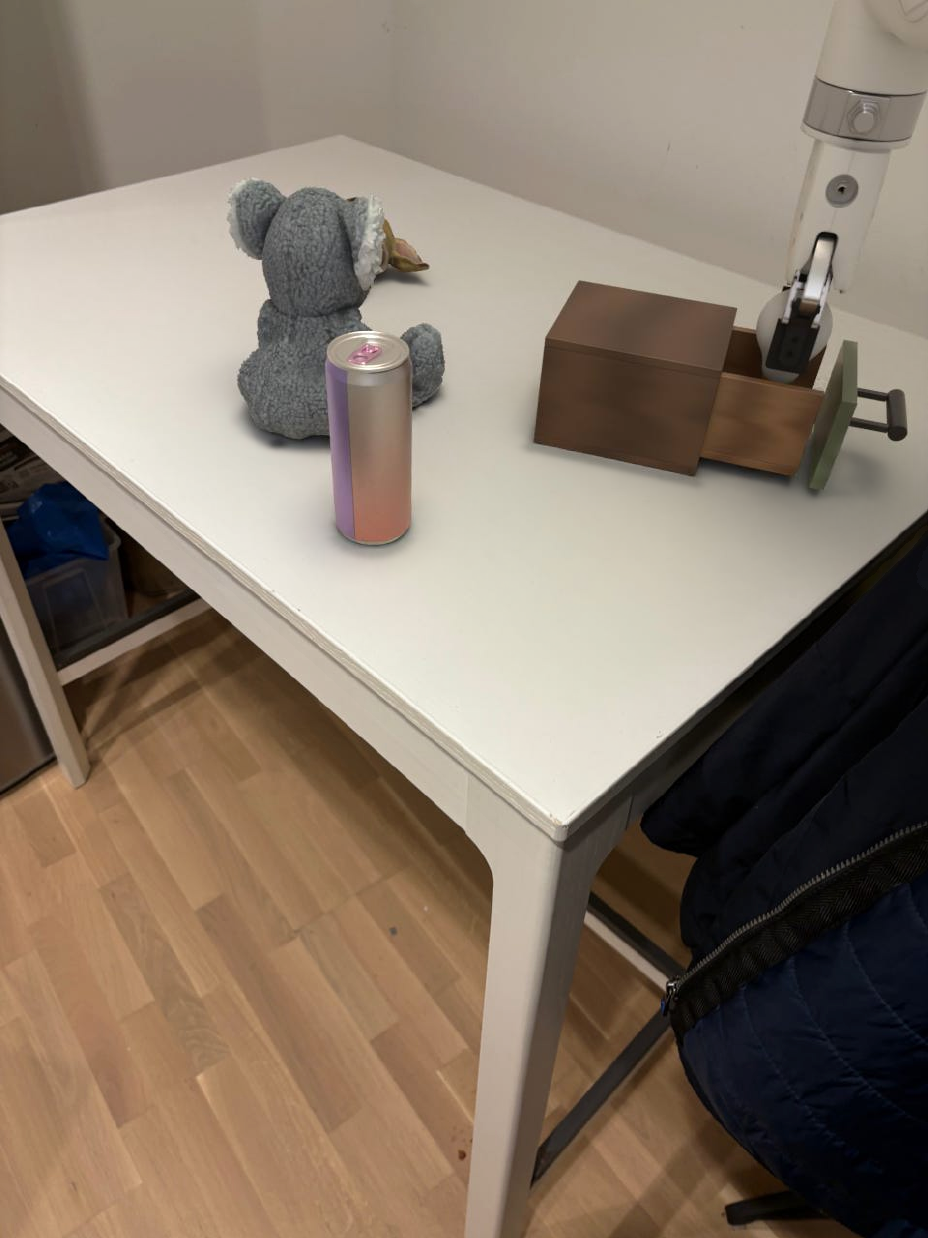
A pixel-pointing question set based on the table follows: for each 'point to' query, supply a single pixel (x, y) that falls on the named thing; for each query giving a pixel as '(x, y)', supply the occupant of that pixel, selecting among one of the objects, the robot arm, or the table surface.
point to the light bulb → (767, 328)
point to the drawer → (790, 412)
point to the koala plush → (312, 299)
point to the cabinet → (632, 375)
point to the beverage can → (370, 434)
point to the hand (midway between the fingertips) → (787, 349)
